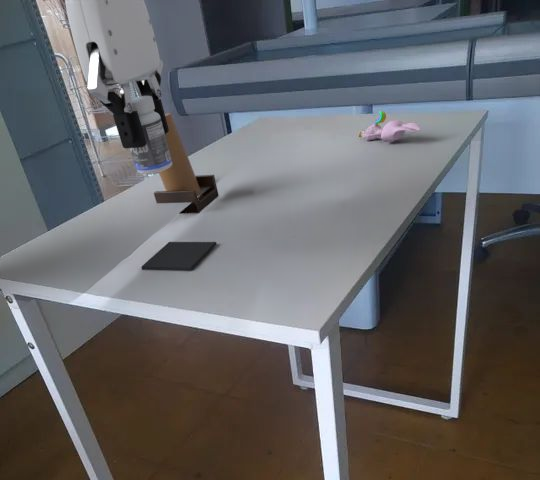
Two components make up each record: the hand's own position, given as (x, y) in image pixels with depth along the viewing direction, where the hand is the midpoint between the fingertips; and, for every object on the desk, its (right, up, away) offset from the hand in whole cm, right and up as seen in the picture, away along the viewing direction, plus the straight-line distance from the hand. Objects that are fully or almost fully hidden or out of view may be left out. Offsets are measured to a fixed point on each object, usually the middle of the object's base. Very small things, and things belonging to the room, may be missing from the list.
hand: (146, 138), depth 69 cm
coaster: (+3, -13, +9) cm, 16 cm away
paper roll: (-3, +5, +25) cm, 26 cm away
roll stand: (+1, -1, +27) cm, 27 cm away
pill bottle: (+1, -3, +2) cm, 4 cm away
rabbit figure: (+39, +15, +38) cm, 56 cm away
